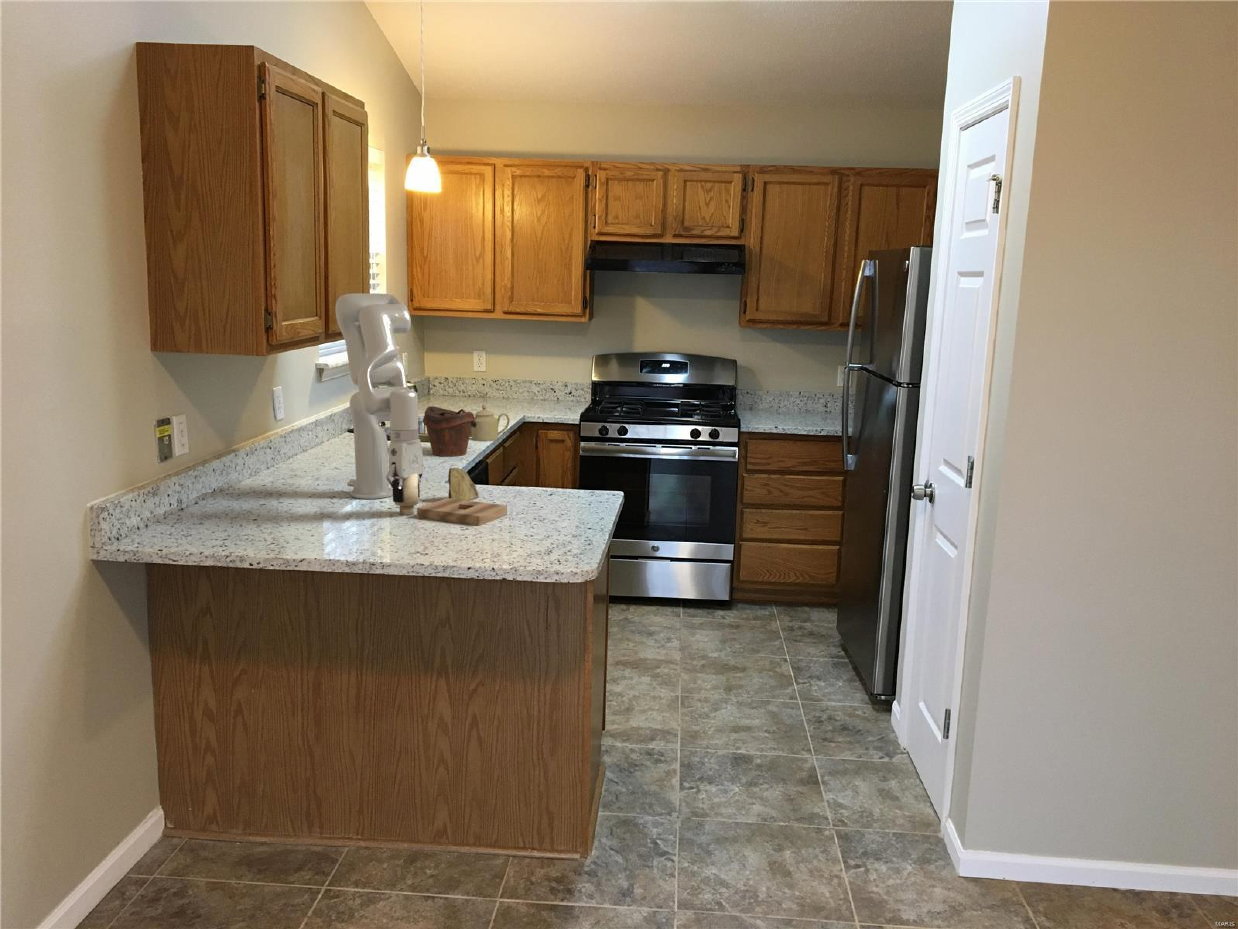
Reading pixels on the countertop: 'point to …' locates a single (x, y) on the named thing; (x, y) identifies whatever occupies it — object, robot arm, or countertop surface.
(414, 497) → the peg
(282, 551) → the countertop surface
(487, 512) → the board
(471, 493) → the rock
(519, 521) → the countertop surface
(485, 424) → the sugar bowl
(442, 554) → the countertop surface
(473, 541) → the countertop surface
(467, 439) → the brown tapered pot
